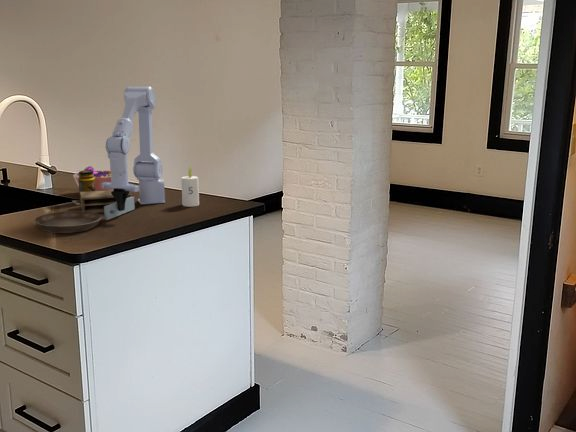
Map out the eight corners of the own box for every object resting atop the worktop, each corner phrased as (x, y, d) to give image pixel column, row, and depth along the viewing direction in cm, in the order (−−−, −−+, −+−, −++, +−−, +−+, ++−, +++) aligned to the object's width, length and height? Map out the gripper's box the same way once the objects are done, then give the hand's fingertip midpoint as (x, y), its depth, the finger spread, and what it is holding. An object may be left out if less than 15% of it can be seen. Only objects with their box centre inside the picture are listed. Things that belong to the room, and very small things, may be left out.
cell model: (113, 199, 239) (111, 171, 236) (66, 197, 242) (63, 169, 240) (131, 190, 255) (129, 164, 252) (86, 188, 258) (84, 162, 256)
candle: (182, 207, 227) (181, 167, 223) (182, 203, 233) (180, 164, 229) (199, 206, 228) (198, 166, 224) (198, 202, 234) (197, 164, 231)
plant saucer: (101, 217, 212) (100, 208, 211) (103, 232, 193) (102, 222, 192) (37, 222, 205) (36, 212, 204) (33, 238, 186) (32, 227, 185)
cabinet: (130, 203, 232) (130, 188, 231) (134, 209, 222) (133, 194, 221) (81, 206, 226) (80, 192, 225) (82, 213, 216) (81, 198, 215)
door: (132, 208, 222) (132, 196, 221) (137, 208, 221) (137, 196, 220) (104, 219, 206) (103, 206, 204) (109, 220, 205) (109, 207, 204)
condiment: (99, 202, 233) (97, 171, 230) (77, 205, 229) (74, 173, 226) (94, 199, 239) (91, 169, 236) (72, 201, 235) (69, 170, 232)
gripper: (94, 171, 207) (97, 210, 211) (128, 175, 201) (130, 214, 205) (108, 168, 214) (110, 206, 217) (142, 171, 208) (143, 210, 211)
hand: (121, 210), depth 211 cm, fingers closed
